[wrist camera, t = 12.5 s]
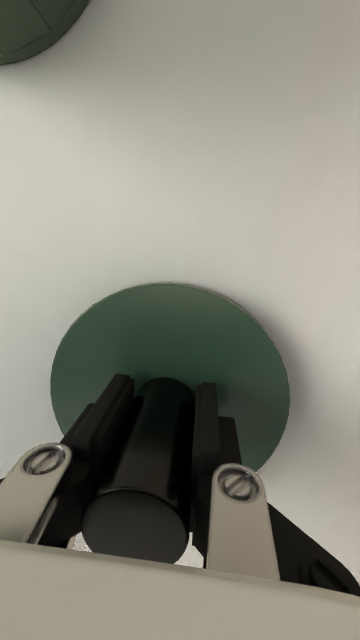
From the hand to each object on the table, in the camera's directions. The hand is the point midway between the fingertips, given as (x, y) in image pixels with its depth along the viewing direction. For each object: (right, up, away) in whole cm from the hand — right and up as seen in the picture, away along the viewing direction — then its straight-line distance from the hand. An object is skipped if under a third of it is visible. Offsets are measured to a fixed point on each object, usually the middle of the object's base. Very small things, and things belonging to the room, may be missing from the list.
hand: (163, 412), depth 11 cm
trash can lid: (0, 0, +1) cm, 1 cm away
